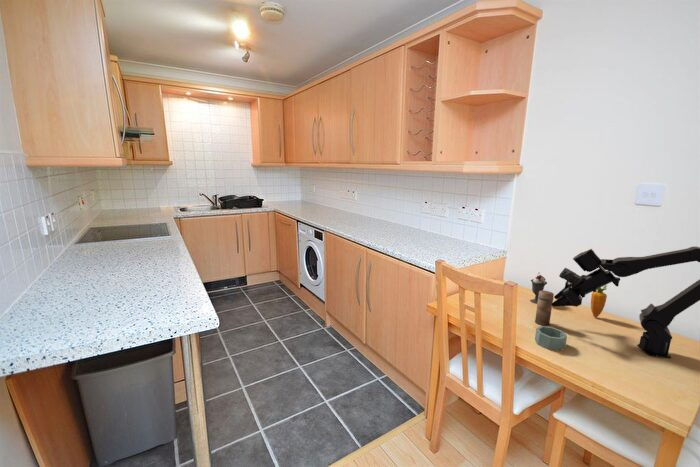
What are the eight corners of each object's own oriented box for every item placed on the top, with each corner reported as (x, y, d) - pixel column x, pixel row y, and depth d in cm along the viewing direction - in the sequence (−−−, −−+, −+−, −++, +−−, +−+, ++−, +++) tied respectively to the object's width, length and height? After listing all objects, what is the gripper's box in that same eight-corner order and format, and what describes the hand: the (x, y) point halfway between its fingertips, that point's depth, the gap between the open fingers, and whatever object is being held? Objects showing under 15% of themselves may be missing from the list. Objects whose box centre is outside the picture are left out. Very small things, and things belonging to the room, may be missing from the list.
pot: (558, 339, 115) (560, 327, 114) (568, 352, 107) (570, 340, 106) (532, 336, 117) (533, 324, 116) (540, 348, 109) (542, 336, 108)
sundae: (531, 304, 146) (535, 273, 143) (525, 298, 152) (529, 268, 149) (546, 305, 145) (551, 274, 142) (540, 299, 151) (544, 269, 148)
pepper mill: (546, 320, 129) (551, 291, 127) (551, 326, 124) (556, 295, 122) (532, 319, 130) (536, 289, 128) (537, 325, 126) (541, 294, 123)
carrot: (602, 316, 134) (608, 283, 131) (603, 321, 129) (609, 286, 127) (587, 313, 136) (593, 281, 133) (588, 318, 132) (594, 284, 129)
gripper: (578, 258, 124) (542, 278, 133) (575, 269, 110) (535, 291, 119) (599, 281, 121) (561, 300, 130) (599, 296, 107) (556, 316, 116)
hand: (553, 301), depth 124 cm, fingers open, 9 cm apart
